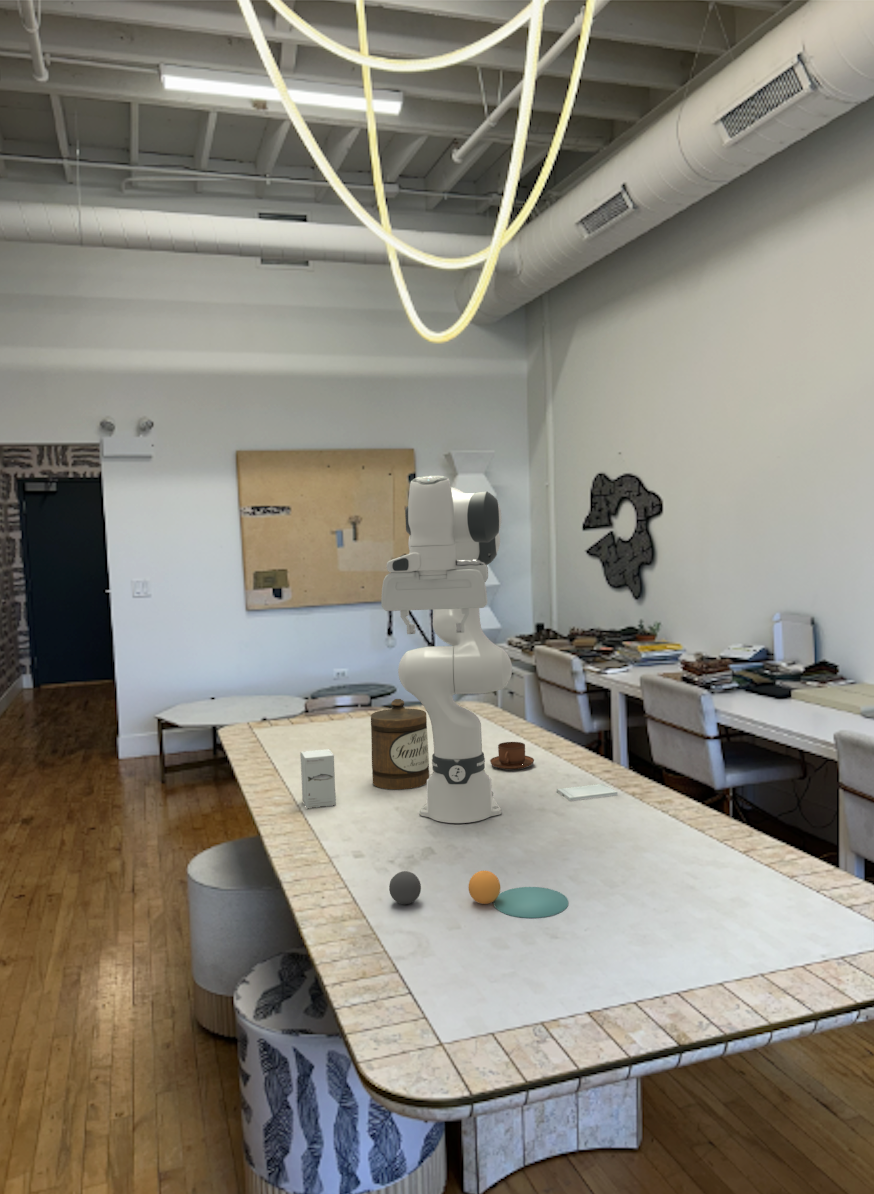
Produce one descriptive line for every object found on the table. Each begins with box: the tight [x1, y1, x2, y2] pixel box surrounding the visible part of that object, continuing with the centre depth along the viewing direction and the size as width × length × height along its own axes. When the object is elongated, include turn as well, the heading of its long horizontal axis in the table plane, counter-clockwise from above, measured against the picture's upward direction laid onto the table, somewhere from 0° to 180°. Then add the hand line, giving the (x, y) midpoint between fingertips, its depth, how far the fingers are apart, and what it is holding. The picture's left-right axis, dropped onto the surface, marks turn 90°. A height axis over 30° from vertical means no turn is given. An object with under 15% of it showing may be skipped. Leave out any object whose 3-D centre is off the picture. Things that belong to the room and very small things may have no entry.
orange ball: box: [467, 870, 501, 905], centre depth 162 cm, size 6×6×6 cm
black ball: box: [388, 870, 422, 905], centre depth 163 cm, size 6×6×6 cm
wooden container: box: [370, 698, 430, 791], centre depth 240 cm, size 15×15×22 cm
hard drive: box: [556, 783, 618, 802], centre depth 225 cm, size 2×8×12 cm
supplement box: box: [299, 748, 337, 809], centre depth 224 cm, size 7×7×13 cm
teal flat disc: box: [493, 886, 569, 919], centre depth 161 cm, size 13×13×1 cm
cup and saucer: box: [489, 741, 535, 771], centre depth 253 cm, size 12×12×6 cm
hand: (435, 633), depth 177 cm, fingers open, 8 cm apart
